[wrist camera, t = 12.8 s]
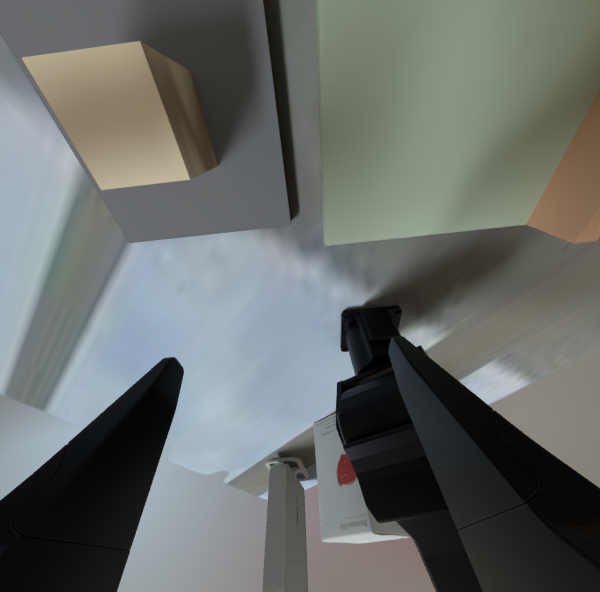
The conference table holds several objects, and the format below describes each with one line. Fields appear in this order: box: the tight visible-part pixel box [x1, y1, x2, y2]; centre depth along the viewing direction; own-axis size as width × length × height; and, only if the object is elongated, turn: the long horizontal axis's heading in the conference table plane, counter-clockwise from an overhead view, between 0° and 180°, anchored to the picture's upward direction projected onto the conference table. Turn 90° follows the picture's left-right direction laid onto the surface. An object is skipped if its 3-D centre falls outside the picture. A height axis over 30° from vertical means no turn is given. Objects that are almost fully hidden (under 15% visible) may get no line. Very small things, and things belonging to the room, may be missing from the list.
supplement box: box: [313, 413, 410, 543], centre depth 35 cm, size 9×9×15 cm
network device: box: [263, 457, 309, 592], centre depth 50 cm, size 26×9×20 cm, turn 10°
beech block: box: [22, 41, 218, 190], centre depth 11 cm, size 4×4×5 cm
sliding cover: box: [315, 0, 600, 246], centre depth 7 cm, size 14×12×3 cm
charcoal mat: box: [0, 0, 291, 243], centre depth 14 cm, size 13×13×1 cm
